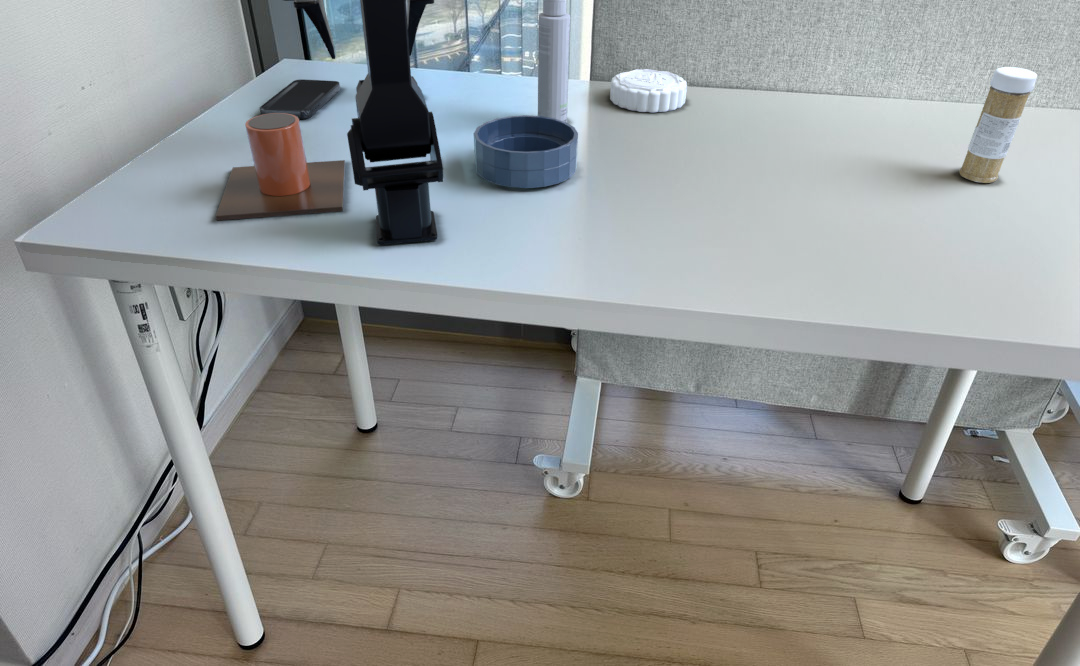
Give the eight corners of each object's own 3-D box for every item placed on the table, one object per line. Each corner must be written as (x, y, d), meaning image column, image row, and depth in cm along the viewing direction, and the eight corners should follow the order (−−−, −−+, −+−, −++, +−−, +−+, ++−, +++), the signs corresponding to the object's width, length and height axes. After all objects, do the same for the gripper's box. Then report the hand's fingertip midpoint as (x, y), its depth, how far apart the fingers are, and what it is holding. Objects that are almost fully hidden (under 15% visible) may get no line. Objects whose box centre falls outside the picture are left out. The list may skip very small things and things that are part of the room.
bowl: (586, 187, 93) (588, 149, 90) (482, 195, 91) (481, 156, 88) (564, 148, 103) (565, 112, 100) (470, 154, 101) (468, 118, 98)
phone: (256, 109, 112) (295, 78, 124) (258, 116, 112) (297, 85, 124) (307, 112, 111) (341, 81, 123) (309, 119, 111) (342, 88, 124)
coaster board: (343, 211, 87) (342, 206, 87) (216, 220, 85) (215, 216, 85) (345, 164, 98) (344, 159, 98) (233, 171, 96) (232, 167, 96)
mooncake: (697, 97, 121) (700, 75, 119) (664, 118, 113) (666, 95, 111) (632, 84, 127) (633, 62, 125) (596, 103, 119) (597, 80, 117)
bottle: (560, 128, 109) (564, -20, 98) (533, 124, 111) (533, -23, 99) (571, 119, 113) (576, -26, 101) (544, 115, 114) (546, -29, 103)
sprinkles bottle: (972, 167, 99) (1010, 63, 91) (1004, 180, 96) (1047, 73, 88) (950, 174, 97) (987, 68, 89) (982, 187, 94) (1023, 79, 86)
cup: (309, 194, 89) (297, 128, 85) (256, 198, 88) (241, 131, 84) (311, 174, 94) (300, 110, 89) (262, 177, 93) (248, 113, 88)
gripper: (433, -96, 92) (441, 37, 101) (275, -94, 89) (298, 42, 98) (440, -85, 83) (449, 60, 92) (265, -82, 80) (292, 67, 89)
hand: (371, 56), depth 93 cm, fingers open, 9 cm apart
